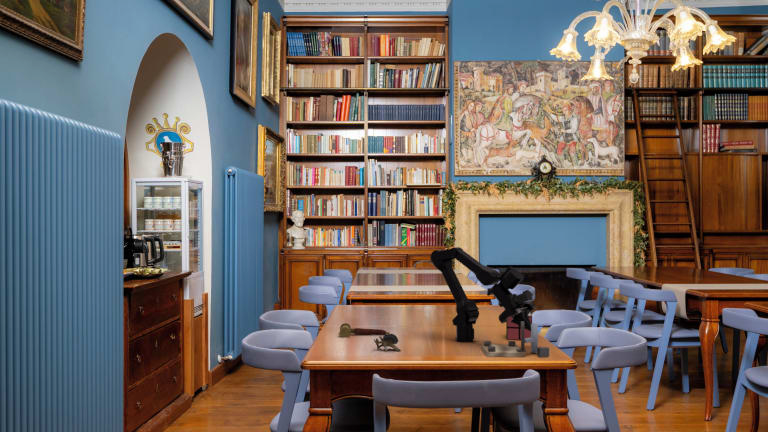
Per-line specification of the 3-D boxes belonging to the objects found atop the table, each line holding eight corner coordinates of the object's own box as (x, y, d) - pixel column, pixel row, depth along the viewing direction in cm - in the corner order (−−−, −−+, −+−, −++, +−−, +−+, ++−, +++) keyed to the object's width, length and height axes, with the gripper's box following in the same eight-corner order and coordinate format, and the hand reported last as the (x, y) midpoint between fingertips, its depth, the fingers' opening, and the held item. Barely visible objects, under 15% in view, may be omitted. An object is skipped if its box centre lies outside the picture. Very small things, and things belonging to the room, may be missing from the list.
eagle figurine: (374, 350, 197) (398, 346, 196) (373, 331, 201) (397, 327, 200) (379, 357, 203) (402, 353, 202) (377, 339, 208) (401, 335, 206)
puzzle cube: (532, 341, 219) (532, 315, 220) (506, 339, 221) (506, 314, 222) (530, 336, 229) (530, 312, 229) (506, 335, 231) (506, 311, 231)
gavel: (389, 325, 236) (391, 329, 226) (388, 336, 236) (390, 341, 226) (340, 322, 235) (339, 326, 225) (339, 333, 235) (339, 338, 225)
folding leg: (527, 355, 194) (527, 326, 194) (521, 353, 196) (521, 325, 196) (539, 352, 198) (539, 324, 198) (533, 351, 200) (533, 323, 200)
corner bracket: (537, 355, 194) (537, 347, 194) (546, 355, 195) (546, 346, 195) (539, 357, 192) (539, 348, 192) (549, 356, 193) (549, 348, 193)
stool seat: (487, 356, 192) (487, 322, 193) (481, 348, 205) (481, 316, 206) (526, 357, 192) (526, 322, 192) (518, 348, 205) (518, 316, 205)
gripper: (505, 286, 196) (534, 321, 189) (530, 280, 210) (558, 313, 203) (486, 305, 202) (514, 340, 194) (512, 299, 215) (539, 331, 208)
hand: (532, 330), depth 200 cm, fingers closed, pressing on folding leg
